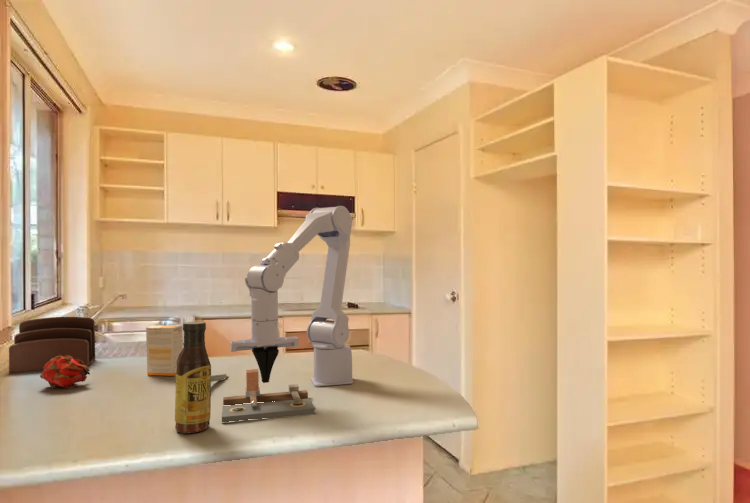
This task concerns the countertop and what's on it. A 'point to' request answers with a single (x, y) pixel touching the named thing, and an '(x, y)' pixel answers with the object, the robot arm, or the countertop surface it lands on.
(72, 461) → the countertop surface
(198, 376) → the sauce bottle
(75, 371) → the dragon fruit
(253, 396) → the orange handled lever
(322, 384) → the robot arm
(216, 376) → the caliper
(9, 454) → the countertop surface
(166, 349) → the supplement box
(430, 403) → the countertop surface
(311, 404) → the bolt plate
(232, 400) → the rail
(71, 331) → the letter holder
